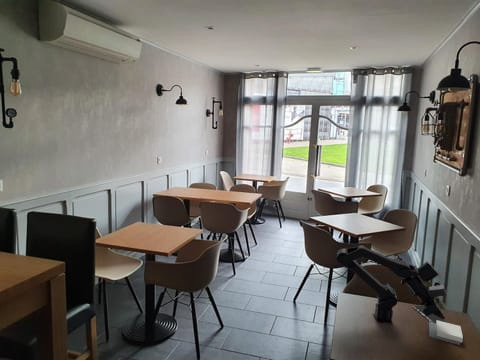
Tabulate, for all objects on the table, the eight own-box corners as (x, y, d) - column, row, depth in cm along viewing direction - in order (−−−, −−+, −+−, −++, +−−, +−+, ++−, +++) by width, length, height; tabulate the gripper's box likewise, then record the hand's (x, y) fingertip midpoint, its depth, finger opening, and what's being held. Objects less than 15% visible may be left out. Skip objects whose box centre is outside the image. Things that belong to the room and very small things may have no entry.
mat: (429, 336, 146) (429, 335, 146) (428, 322, 157) (428, 321, 157) (460, 345, 141) (460, 344, 141) (457, 330, 152) (457, 329, 152)
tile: (437, 331, 145) (462, 338, 141) (436, 320, 154) (460, 326, 150) (436, 336, 146) (462, 343, 142) (435, 324, 155) (459, 330, 151)
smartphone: (434, 324, 155) (412, 305, 171) (434, 326, 155) (411, 307, 171) (449, 323, 156) (425, 305, 172) (449, 326, 156) (425, 307, 172)
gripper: (436, 286, 140) (464, 320, 137) (434, 270, 156) (459, 300, 153) (411, 299, 145) (438, 332, 141) (412, 283, 161) (436, 312, 158)
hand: (444, 318), depth 148 cm, fingers closed
